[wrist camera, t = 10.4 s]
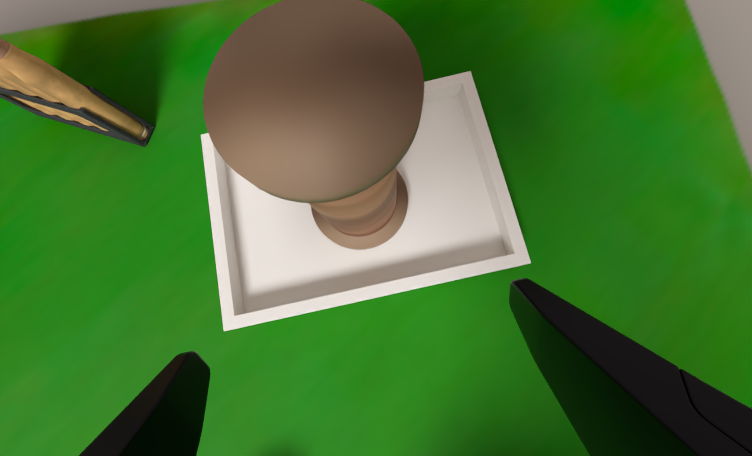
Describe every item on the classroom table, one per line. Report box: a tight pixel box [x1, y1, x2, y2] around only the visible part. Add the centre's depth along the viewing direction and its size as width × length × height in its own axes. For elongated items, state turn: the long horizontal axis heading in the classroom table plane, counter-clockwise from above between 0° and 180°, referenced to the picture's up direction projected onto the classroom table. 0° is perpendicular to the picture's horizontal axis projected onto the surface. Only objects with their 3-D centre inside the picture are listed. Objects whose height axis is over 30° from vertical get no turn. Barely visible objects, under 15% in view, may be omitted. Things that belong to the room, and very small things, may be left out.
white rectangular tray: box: [201, 71, 531, 331], centre depth 22 cm, size 20×14×2 cm
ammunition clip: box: [0, 38, 154, 147], centre depth 20 cm, size 11×2×12 cm, turn 73°
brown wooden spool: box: [203, 0, 424, 250], centre depth 16 cm, size 7×7×13 cm
